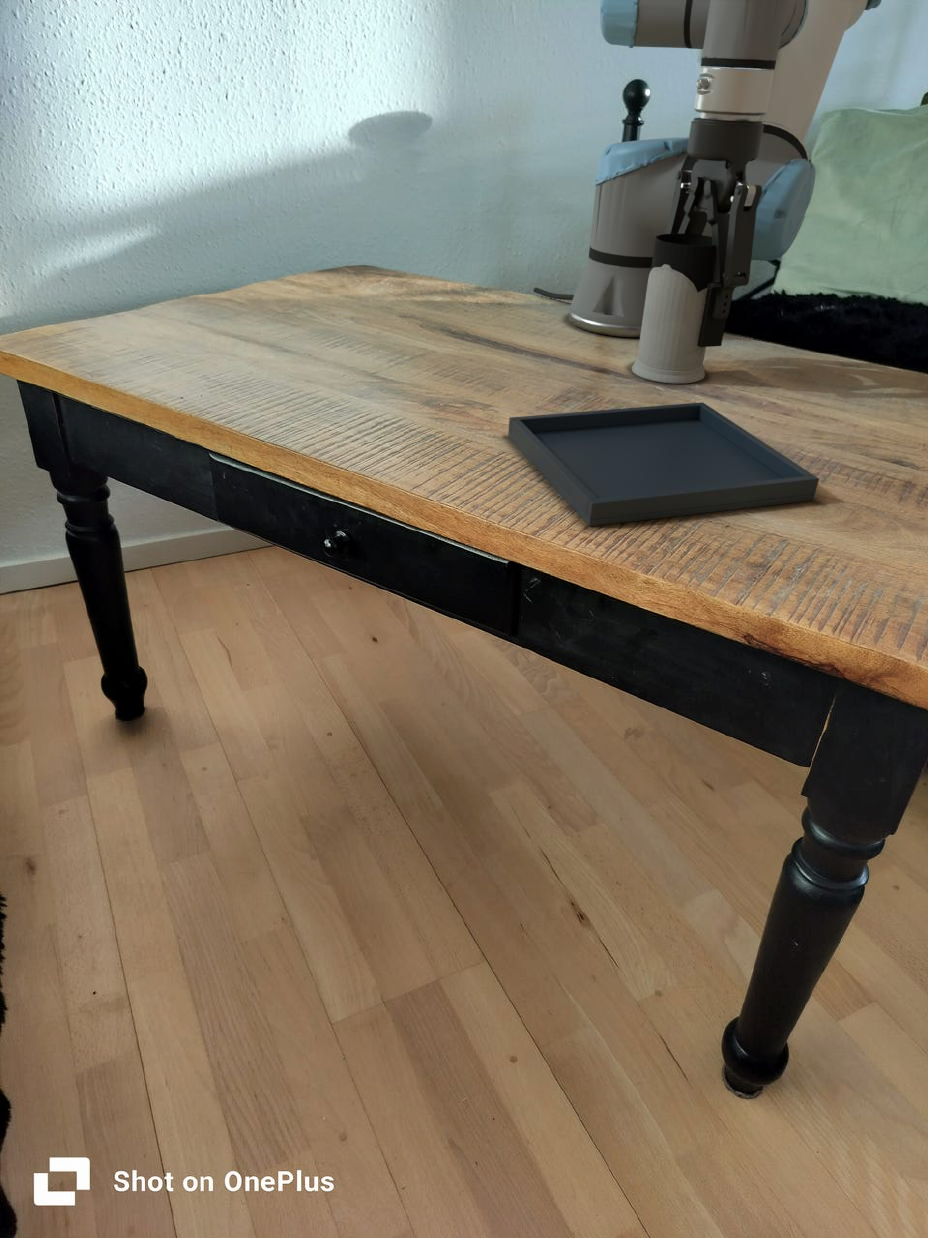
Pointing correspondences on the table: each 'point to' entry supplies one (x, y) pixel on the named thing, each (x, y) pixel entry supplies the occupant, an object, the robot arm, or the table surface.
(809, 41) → the robot arm
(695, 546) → the table surface
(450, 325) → the table surface
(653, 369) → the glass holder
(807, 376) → the table surface
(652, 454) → the tray
